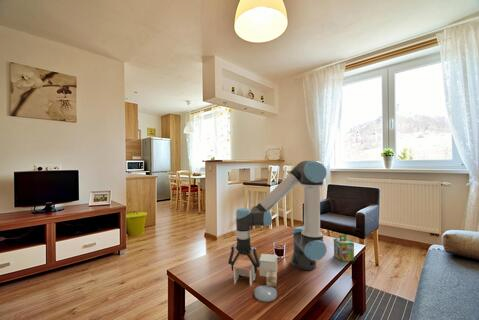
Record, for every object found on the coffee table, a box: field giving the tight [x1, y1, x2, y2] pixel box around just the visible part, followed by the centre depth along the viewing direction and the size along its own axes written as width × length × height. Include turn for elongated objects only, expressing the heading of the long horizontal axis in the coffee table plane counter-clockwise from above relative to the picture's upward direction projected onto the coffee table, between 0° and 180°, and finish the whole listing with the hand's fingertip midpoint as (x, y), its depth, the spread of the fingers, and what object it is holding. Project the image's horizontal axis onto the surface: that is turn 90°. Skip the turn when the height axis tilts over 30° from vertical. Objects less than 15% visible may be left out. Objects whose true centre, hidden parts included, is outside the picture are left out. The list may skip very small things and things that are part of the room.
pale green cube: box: [258, 253, 278, 277], centre depth 124 cm, size 9×9×9 cm
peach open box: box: [233, 259, 254, 287], centre depth 117 cm, size 9×9×9 cm
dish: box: [253, 284, 278, 303], centre depth 104 cm, size 11×11×1 cm
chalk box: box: [333, 234, 355, 262], centre depth 140 cm, size 9×9×15 cm
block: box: [265, 271, 278, 288], centre depth 113 cm, size 5×5×5 cm
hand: (244, 277), depth 117 cm, fingers open, 10 cm apart
